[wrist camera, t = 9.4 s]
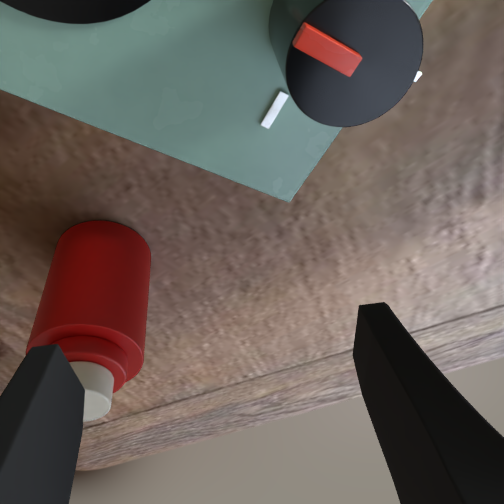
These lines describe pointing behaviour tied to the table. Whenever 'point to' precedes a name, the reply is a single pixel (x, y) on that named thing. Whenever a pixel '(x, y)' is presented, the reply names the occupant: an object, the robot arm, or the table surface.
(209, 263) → the table surface
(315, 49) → the dial
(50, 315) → the ketchup bottle
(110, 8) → the ring
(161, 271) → the table surface
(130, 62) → the hotplate
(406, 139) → the table surface
